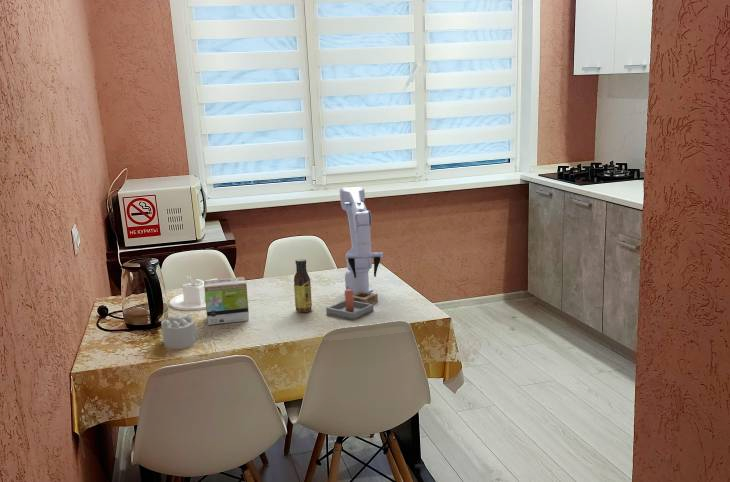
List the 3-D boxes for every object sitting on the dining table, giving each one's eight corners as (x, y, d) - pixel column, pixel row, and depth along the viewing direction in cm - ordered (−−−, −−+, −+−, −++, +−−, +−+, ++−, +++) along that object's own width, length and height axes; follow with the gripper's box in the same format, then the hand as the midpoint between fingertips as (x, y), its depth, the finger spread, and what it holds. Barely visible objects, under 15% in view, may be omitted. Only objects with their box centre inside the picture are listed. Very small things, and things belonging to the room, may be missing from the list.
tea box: (208, 326, 237) (204, 287, 233) (207, 317, 246) (203, 280, 243) (249, 321, 240) (246, 282, 237) (247, 312, 250) (243, 275, 247)
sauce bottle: (309, 313, 245) (306, 262, 241) (293, 313, 247) (289, 262, 242) (314, 307, 252) (311, 257, 247) (298, 307, 253) (295, 257, 249)
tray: (326, 314, 244) (326, 307, 243) (346, 305, 253) (346, 299, 252) (353, 320, 236) (353, 313, 235) (373, 310, 245) (373, 304, 245)
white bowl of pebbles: (191, 333, 230) (189, 310, 228) (200, 345, 219) (197, 320, 217) (161, 339, 225) (158, 315, 224) (168, 351, 214) (165, 326, 212)
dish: (197, 315, 251) (193, 286, 248) (157, 305, 266) (154, 278, 263) (244, 297, 270) (242, 271, 267) (205, 289, 285) (202, 264, 282)
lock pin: (344, 311, 244) (343, 290, 242) (349, 309, 246) (348, 288, 245) (350, 312, 242) (349, 292, 240) (355, 310, 244) (354, 290, 243)
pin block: (349, 303, 255) (348, 296, 254) (361, 298, 261) (361, 291, 260) (365, 307, 250) (364, 299, 249) (377, 301, 256) (377, 294, 255)
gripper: (344, 245, 247) (346, 280, 250) (382, 243, 247) (384, 278, 250) (344, 241, 254) (346, 275, 257) (381, 239, 254) (383, 273, 257)
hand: (365, 276), depth 254 cm, fingers open, 7 cm apart
